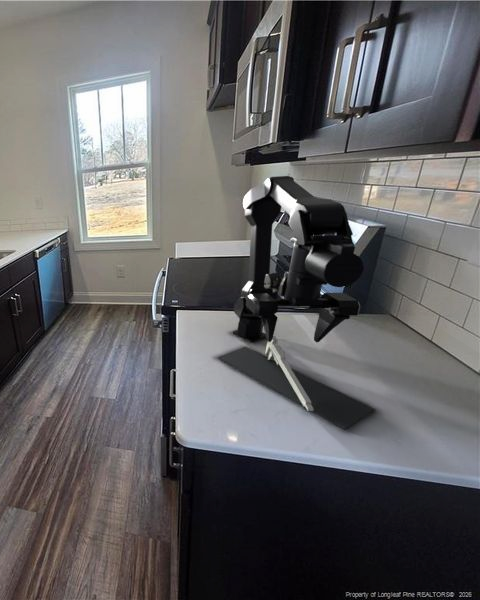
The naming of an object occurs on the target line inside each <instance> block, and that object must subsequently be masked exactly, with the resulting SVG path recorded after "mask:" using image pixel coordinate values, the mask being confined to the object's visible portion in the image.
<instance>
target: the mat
mask: <svg viewBox="0 0 480 600" xmlns="http://www.w3.org/2000/svg"><path fill="white" fill-rule="evenodd" d="M217 359H218V360H220V361H221V362H223V363H225V364H227V365H229V366H231V367H232V368H234V369H236V370H237V371H240V372H241V373H243V374H244V375H246V376H248V377H250V378H252V379H254V380H256V381H257V382H259V383H261V384H263V385H264V386H266V387H268V388H269V389H271V390H273V391H275V392H277V393H278V394H280V395H282V396H284V397H286V398H287V399H289V400H290V401H291V400H292V401H293V402H294V403H297V404H298V405H300V406H301V407H303V408H305V409H306V407H304V406H303V405H302V403H301V401H300V400H299V398H298V396H297V394H296V393H295V391H294V389H293V387H292V386H291V384H290V382H289V380H288V379H287V377H286V375H285V373H284V372H283V370H282V368H281V367H280V365H277V363H276V362H275V360H274V359H273V360H268V356H266V355H265V354H262V353H259V352H257V351H256V350H253V349H252V348H250V347H247V346H243V347H241V348H237V349H235V350H233V351H230V352H227V353H225V354H221V355H219V356H218V357H217ZM291 370H292V371H293V373H294V374H295V376H296V378H297V379H298V381H299V383H300V384H301V386H302V388H303V389H304V391H305V392H306V394H307V396H308V397H309V399H310V401H311V405H312V407H313V410H314V411H311V412H312V413H314V414H316V415H318V416H319V417H321V418H323V419H325V420H327V421H328V422H330V423H332V424H333V425H336V426H337V427H339V428H341V429H342V430H343V431H345V430H347V429H349V428H350V427H352V426H353V425H355V424H356V423H358V422H359V421H361V420H362V419H364V418H365V417H367V416H369V415H370V414H372V413H373V412H374V411H375V410H376V408H374V407H372V406H370V405H368V404H366V403H364V402H362V401H361V400H357V399H355V398H354V397H351V396H350V395H347V394H345V393H343V392H341V391H339V390H336V389H335V388H333V387H330V386H329V385H326V384H324V383H322V382H320V381H319V380H316V379H314V378H311V377H310V376H307V375H306V374H303V373H301V372H299V371H298V370H295V369H293V368H291Z"/></svg>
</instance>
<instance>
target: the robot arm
mask: <svg viewBox="0 0 480 600" xmlns="http://www.w3.org/2000/svg"><path fill="white" fill-rule="evenodd" d="M242 208H243V210H244V217H245V220H247V222H248V224H249V225H250V242H249V244H250V245H249V267H248V281H246V284H245V285H244V286H243V288H242V289H241V291H240V297H239V298H238V299H237V301H236V302H235V303H234V305H233V313H234V314H235V315H236V317H237V318H238V323H237V329H236V330H233V331H232V334H233V335H236V336H237V337H239V338H242V339H244V340H247V341H249V342H251V343H254V342H256V341H260V340H262V339H265V338H266V341H267V342H271V341H272V338H273V336H275V330H276V327H277V323H278V319H279V318H278V316H277V315H276V314H277V313H278V311H279V309H317V310H318V317H317V318H318V319H317V321H316V326H315V330H314V334H313V341H314V342H315V343H320V342H321V341H322V340H323V339H324V338H325V337H326V336H327V335H328V334H329V333H330V332H331V331H333V330H334V329H335V328H337V326H339V325H340V324H341V323H343V322H344V321H345V320H350V319H351V316H355V317H356V316H358V315H359V313H360V310H361V304H360V302H359V300H357V299H355V298H354V297H352V296H350V295H349V294H346V293H345V292H323V294H321V293H322V292H321V291H322V289H323V286H324V285H326V286H327V285H329V286H332V287H335V288H345V287H348V286H350V285H353V284H354V283H356V282H357V281H358V280H359V279H360V278H361V276H362V275H363V273H364V270H365V266H364V261H363V259H362V258H361V257H360V256H359V255H357V254H355V250H356V246H355V245H352V244H353V241H354V240H353V237H352V236H353V234H354V233H353V230H352V228H351V225H350V222H349V218H348V214H347V210H346V208H345V206H344V205H343V204H342V203H341V202H339V201H336V200H332V199H331V198H330V199H329V198H322V197H317V196H314V195H313V194H312V193H310V192H309V191H308V190H306V189H305V188H304V187H303V186H301V185H300V184H299V183H298V182H296V181H295V179H294V177H293V176H290V175H279V176H277V175H276V176H270V177H268V178H266V179H265V180H264V181H263V182H262V183H260V184H258V185H255V186H254V187H251V188H250V189H249V190H248V192H247V193H246V194H245V195H244V197H243V201H242ZM282 209H283V210H284V211H285V212H286V213H287V214H288V216H289V219H288V222H287V223H288V226H289V227H290V229H291V231H292V233H293V235H294V236H293V237H292V238H290V240H289V241H290V243H291V244H293V247H292V253H291V258H290V259H291V260H290V263H289V270H288V271H284V272H285V273H284V275H283V277H279V274H278V273H270V272H271V256H272V255H271V254H272V237H273V224H274V223H275V221H276V220H277V219H278V217H279V216H280V215H281V211H282ZM277 295H278V296H280V297H283V298H277ZM263 330H264V332H263Z"/></svg>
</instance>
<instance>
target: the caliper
mask: <svg viewBox="0 0 480 600" xmlns="http://www.w3.org/2000/svg"><path fill="white" fill-rule="evenodd" d="M278 341H279V340H278V339H277V336H276V335H273V338H272V341H271V342H268V341H267V342H266V346H265V353H264V356H266V357H268V360H274V361H275V362H276V363H277V365H280V367H281V368H282V370H283V372H284V373H285V375H286V377H287V379H288V380H289V382H290V384H291V386H292V387H293V389H294V391H295V393H296V394H297V396H298V398H299V400H300V401H301V403H302V405H303V406H304V407H303V406H302V405H301V406H302V407H303V408H305V407H306V408H305V409H306V411H308V412H310V411H311V412H312V411H314V410H313V407H312V405H311V401H310V399H309V397H308V396H307V394H306V392H305V391H304V389H303V388H302V386H301V384H300V383H299V381H298V379H297V378H296V376H295V374H294V373H293V371H292V370H291V369H292V368H291V366H290V365H289V362H288V361H287V360H286V356H285V354H284V353H283V351H282V349H281V347H280V346H279V344H277V343H278Z"/></svg>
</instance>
